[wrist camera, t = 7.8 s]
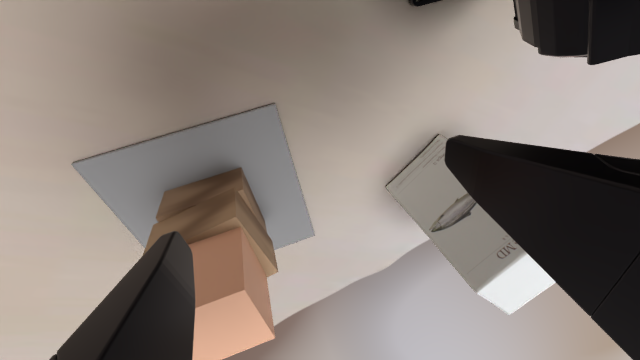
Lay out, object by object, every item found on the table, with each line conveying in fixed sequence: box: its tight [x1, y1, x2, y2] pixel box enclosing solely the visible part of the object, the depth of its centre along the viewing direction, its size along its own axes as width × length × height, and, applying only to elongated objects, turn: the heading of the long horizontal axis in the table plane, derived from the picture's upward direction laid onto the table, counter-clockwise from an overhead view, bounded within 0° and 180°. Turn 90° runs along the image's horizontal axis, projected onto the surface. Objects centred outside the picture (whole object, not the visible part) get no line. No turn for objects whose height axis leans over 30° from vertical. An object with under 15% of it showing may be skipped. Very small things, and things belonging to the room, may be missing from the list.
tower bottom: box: [156, 167, 267, 232], centre depth 21 cm, size 6×6×3 cm
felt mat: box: [71, 103, 315, 250], centre depth 23 cm, size 14×14×1 cm
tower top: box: [143, 187, 278, 277], centre depth 19 cm, size 6×6×3 cm
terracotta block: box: [188, 227, 275, 360], centre depth 16 cm, size 5×5×4 cm
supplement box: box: [386, 135, 556, 315], centre depth 23 cm, size 7×7×13 cm
